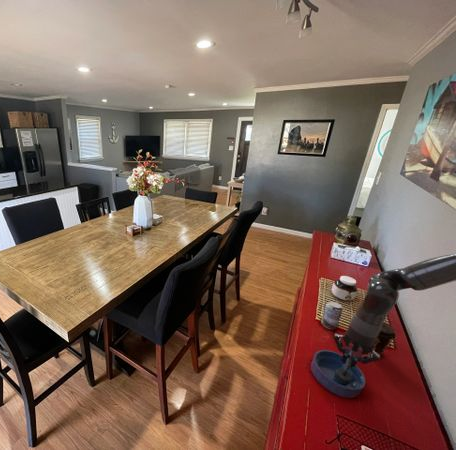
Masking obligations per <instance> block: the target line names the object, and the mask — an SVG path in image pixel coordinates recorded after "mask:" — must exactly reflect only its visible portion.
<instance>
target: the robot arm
mask: <svg viewBox="0 0 456 450" xmlns="http://www.w3.org/2000/svg"><path fill="white" fill-rule="evenodd" d="M453 282H456V253H451V254H446V255H439V256H435V257H431V258H428V259H425V260H422V261H419V262H415V263H414V264H411V265H408V266H405V267H401V268H396V269H390V270H384V271H379V272H378V273H375V274H373V275H372V276H370V277H369V278H368V280H367V290H366V293H365V296H364V298H363V299H362V300H361V301H360V303H359V304H358V306H357V309H356V311H355V312H354V314H353V316H352V318H351V319H350V322H349V324H348V327H347V330H346V332H345V333H342V334H339V333H338V332H335V333H334V336H333V339H334V343H335V345H336V348H337V350H338V352H339V353H342V355H343V356H342V358H341V361H343V363H344V364H345V363H346V360H347V358H348V355H349V353H350V351H351V350H353V351H355V352H354V356H353V359H352V363H351V366H350V367H351V368H352V367H355V366H357V363H358V362H359V363H360V364H363V365H365V364H371V363H373V362H376V361H380V358H381V356H380V354H379V353H376V352H375V351H374V350H373V345H374V343H375V341H376V339H377V337H378V335H379V333H380V331H381V328H382V325H383V323H384V322H385V320H386V318H387V316H388V314H389V313H390V312H391V310H393V308H394V307H395V306H396V304H397V302H398V301H399V297H400V291H402V290H407V289H411V290H414V291H425V290H429V289H433V288H436V287H439V286H442V285H443V286H444V285H446V284H450V283H453ZM342 341H343V342H342ZM343 343H344V344H345V346H346V347H345V346H344V344H343ZM370 352H371V353H370ZM368 353H370V354H368ZM365 354H366V355H365Z"/></svg>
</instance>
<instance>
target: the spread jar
mask: <svg viewBox="0 0 456 450" xmlns="http://www.w3.org/2000/svg"><path fill="white" fill-rule="evenodd" d="M356 284H357V280H356V279H355V278H353V277H350V276H348V275H341V276H340V277H339V279H336V280H335V281H334V282H333V283H332V286H331V293H332V295H333V297H335V298H336V299H337V300H339V301H342V302H351V301H353V300H354V299H355V298H356V296H357V294H358V287H357V285H356Z"/></svg>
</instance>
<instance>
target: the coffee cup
mask: <svg viewBox="0 0 456 450" xmlns="http://www.w3.org/2000/svg"><path fill="white" fill-rule="evenodd" d="M396 335H397V334H396V331H395V328H394V327H393V326H392V325H391V324H389V323H387V322H385V321H384V323H383V325H382V328H381V331H380V333H379V335H378V337H377V339H376V341H375V343H374V345H373V350H374V351H375V352H376V353H379V354H380V357H381V356H382V354H383V353H384V351H386V350H387V348H388V346H389V345H390V344H391V342H392V341H393V339H395V338H396ZM370 353H371V352H370ZM370 353H367V355H369V354H370Z"/></svg>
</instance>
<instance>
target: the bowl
mask: <svg viewBox="0 0 456 450" xmlns="http://www.w3.org/2000/svg"><path fill="white" fill-rule="evenodd" d="M342 356H343V354H341V353H340V352H339V353H338V352H336V351H333V350H328V349H320V350H318V351H316V352H315V353H314V356H313V358H312V361H311V363H310V370H311V373H312V374H313V375H312V376H313V377H314V378H315V380H317V382H318V383H319V384H320V385H321V386H323V387H324V388H325V390H326V389H327V390H328V391H329V392H331V393H332V394H334V395H337V396H339V397H342V398H346V399H354V398H357V397H358V396H360V395H361V393H362V391H363V390H364V388H365V386H366V378H365V377H366V376H365V374H364V373H363V371H362V370H361V368H360V367H359V366H358V365H356V366H355V367H352V368H351V367H350V368H349V369H348V371H347V372H348V373H349V374H350V375H351V378H352V379H351V381H350V383H349V384H348V385H343V384H341V383H339V382H338V381H337V380H336V379H335V376H334V375H335V372H336V370H337V369H343V370H344V369H345V364H346V363H345V364H344V363H343V361H341V358H342ZM346 361H347V360H346Z"/></svg>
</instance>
